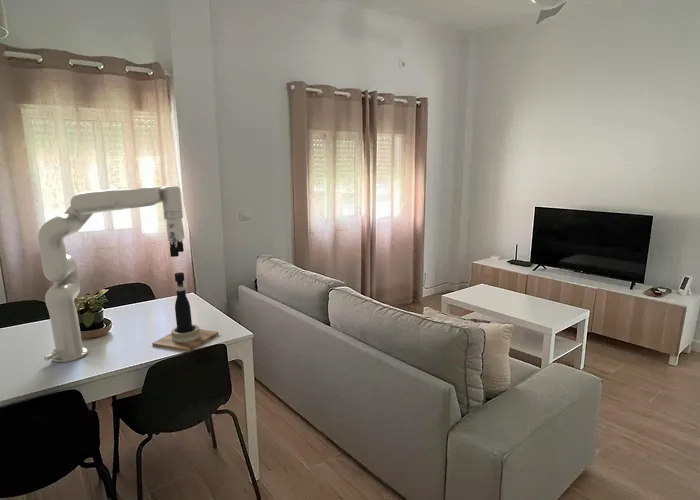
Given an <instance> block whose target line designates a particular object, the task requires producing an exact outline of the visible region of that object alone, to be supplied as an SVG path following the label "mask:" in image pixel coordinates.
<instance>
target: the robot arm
mask: <svg viewBox="0 0 700 500" xmlns="http://www.w3.org/2000/svg"><path fill="white" fill-rule="evenodd" d="M181 193H182V192H181V188H180V187H179V186H177V185H166V186H165V185H164V186H157V185H149V186H147V187H140V188H132V189H105V190H97V191H96V190H95V191H83V192H79V193H76V194H74V195H73V196H72V198H70V206H69V207H68V208H67V209H66V210H65V211H64V213H62V214H61V215H58V216H55V217H53V218H51V219H48V220H47V221H46V222H45V223H43V225H41V227H40V228H39V230H38V233H37V234H38V235H37V238H38V240H37V241H38V245H39V252H40V259H41V265H42V272H43V275H44V277H45V278H46V279H47V280H48V281H50V282H53V285H51V287H49V289H48V290H47V291H46V293H45V297H44V302H45V305H46V308H47V311H48V314H49V319H50V320H49V321H50V324H51V330H52V336H53V342H54V349H52V352H51V353H50V354H47V355H45V356H44V357H43V360H45V361H49V360H52V361H53V362H54V363H66V362H72V361H75V360H79V359H81V358H83V357H85V356H86V355H87V354H88V352H89V351H88V349H87V348H86V347H84V346H83V341H82V335H81V333H82V332H81V328H80V322H79V316H78V315H79V314H78V311H77V307H76V304H75V299H77V297H78V295H79V294H80V291H81V284H80V279H79V274H78V273H79V272H78V266H77V263H76V261H75V259H74V258H73V257H72V256H71V255H69V254H67V248H66V245H65V242H64V239H65V238H66V237H68V236H71V235H73V234H75V233H77V232H78V231H80V230H81V229H82V228H83V227H84V225H85V224H86V223H87V222H88V221H89V219H90V218H91V217H92V216H93V214H97V213H103V212H104V213H105V212H113V211H114V212H115V211H122V210H126V209H127V210H128V209H135V208H136V209H137V208H144V207H151V206H155V205H157V204H160V203H162V211H163V217H164V218H163V220H166V231H167V240H168V242H169V243H168V244H169V254H170V255H169V256H170V257H172V258H174V257H179V255H180V253H183V252H184V242H183V240H184V239H185V231H184V224H183V218H184V215H183V213H184V212H183V204H182V196H181V195H182V194H181Z"/></svg>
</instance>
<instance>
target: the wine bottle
mask: <svg viewBox="0 0 700 500" xmlns="http://www.w3.org/2000/svg"><path fill="white" fill-rule="evenodd" d="M174 281H175V282H176V299H175V302H174V303H175V304H174V313H175V322H176V327H177V333H187V332H191V331H193V330H192V324H193V323H192V322H193V321H192V313H191V305H190V301H189V299H188V297H187V294H186V289H185V285H184V281H185V273H184V272H176V273H174Z"/></svg>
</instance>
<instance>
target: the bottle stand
mask: <svg viewBox="0 0 700 500" xmlns="http://www.w3.org/2000/svg"><path fill="white" fill-rule="evenodd" d="M192 330H193V331H191V332H187V333H177V326H176V327H174V328H172V329H171V331H170V332H171V333H169V334H167V335H165V336H164V337H161V338H160V339H157V340H155V341H154V342H152V347H155V348H161V349H166V350H171V351H172V350H173V351H178V352H183V353H191V352H193V351H194V350H195V349H197V348H200V347H201V346H202V345H204V344H206V343H208V342H209V341H211V340H212V339H214V338H217V337H218V336H219V331H216V330H208V329H200V326H199V325H197V324H193V323H192ZM190 351H191V352H190Z"/></svg>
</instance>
